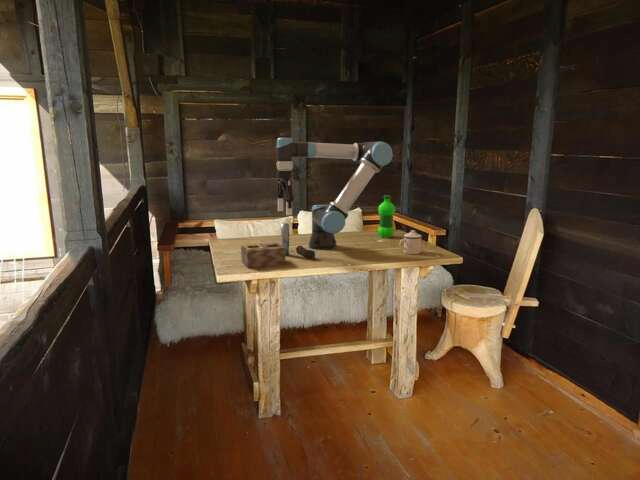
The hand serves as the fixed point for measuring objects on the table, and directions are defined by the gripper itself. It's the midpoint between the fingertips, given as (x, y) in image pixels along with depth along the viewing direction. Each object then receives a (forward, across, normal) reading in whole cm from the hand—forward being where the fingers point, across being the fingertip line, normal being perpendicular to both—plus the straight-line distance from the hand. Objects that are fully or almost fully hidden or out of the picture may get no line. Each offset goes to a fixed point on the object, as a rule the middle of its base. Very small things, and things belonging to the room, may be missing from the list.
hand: (284, 213), depth 238 cm
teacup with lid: (+21, +18, +62) cm, 68 cm away
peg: (+21, 0, 0) cm, 21 cm away
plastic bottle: (+21, -22, +71) cm, 78 cm away
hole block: (+21, +12, -15) cm, 29 cm away
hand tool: (+22, +7, +10) cm, 25 cm away
